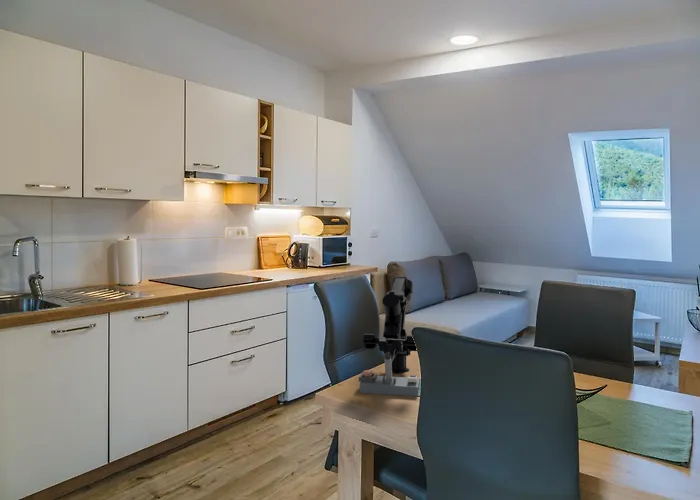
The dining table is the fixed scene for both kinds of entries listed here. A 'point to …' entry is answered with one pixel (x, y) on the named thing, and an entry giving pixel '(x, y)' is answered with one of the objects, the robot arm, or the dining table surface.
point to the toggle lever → (388, 367)
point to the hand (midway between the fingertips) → (388, 364)
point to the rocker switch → (412, 378)
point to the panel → (388, 385)
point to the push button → (367, 373)
